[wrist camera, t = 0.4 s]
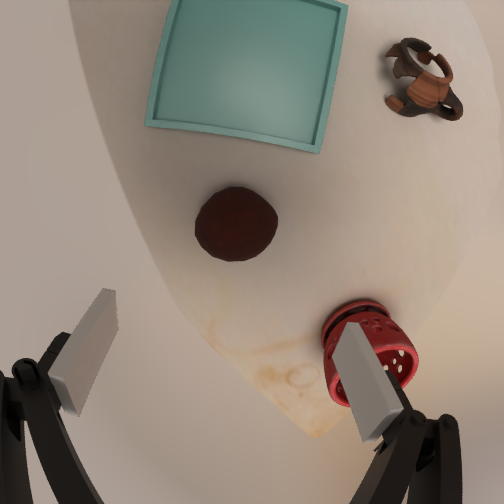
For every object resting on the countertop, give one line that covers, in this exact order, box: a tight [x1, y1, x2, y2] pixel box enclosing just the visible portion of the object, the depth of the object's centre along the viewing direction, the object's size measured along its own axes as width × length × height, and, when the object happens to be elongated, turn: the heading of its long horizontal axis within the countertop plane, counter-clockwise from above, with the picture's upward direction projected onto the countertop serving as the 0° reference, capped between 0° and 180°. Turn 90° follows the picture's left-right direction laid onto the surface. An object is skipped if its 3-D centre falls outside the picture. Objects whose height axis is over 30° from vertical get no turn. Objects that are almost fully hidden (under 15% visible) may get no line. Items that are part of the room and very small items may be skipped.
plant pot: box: [322, 301, 419, 407], centre depth 38 cm, size 13×13×12 cm
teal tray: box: [144, 0, 348, 154], centre depth 26 cm, size 20×20×2 cm
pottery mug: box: [385, 38, 463, 121], centre depth 26 cm, size 12×10×8 cm
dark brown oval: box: [195, 187, 278, 262], centre depth 32 cm, size 8×9×8 cm
